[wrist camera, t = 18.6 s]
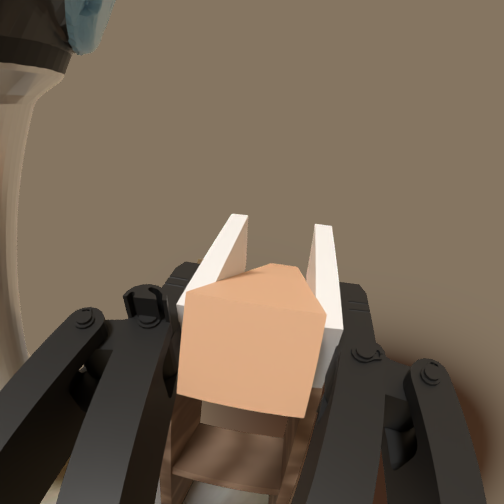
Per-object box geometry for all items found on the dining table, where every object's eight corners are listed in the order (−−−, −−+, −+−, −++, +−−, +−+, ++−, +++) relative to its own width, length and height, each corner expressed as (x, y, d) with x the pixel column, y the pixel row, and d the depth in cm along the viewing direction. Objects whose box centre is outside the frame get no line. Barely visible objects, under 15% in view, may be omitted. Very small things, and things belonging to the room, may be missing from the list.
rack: (162, 518, 27) (168, 257, 27) (189, 469, 41) (207, 257, 41) (273, 542, 25) (343, 281, 25) (279, 487, 39) (325, 272, 39)
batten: (303, 418, 6) (326, 314, 6) (176, 393, 6) (186, 291, 6) (293, 288, 34) (297, 266, 34) (267, 284, 34) (271, 263, 34)
